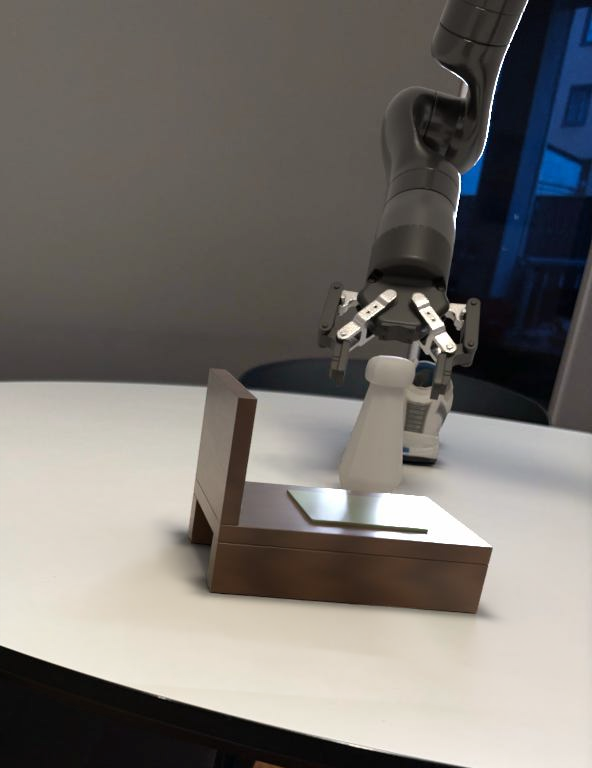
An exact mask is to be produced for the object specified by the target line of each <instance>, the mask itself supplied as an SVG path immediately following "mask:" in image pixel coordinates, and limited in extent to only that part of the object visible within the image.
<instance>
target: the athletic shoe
mask: <svg viewBox="0 0 592 768" xmlns="http://www.w3.org/2000/svg"><path fill="white" fill-rule="evenodd" d="M410 361H412V362H413V364H414V365H415V377H414V380H413V383H412V385H410V386H407V387H405V388H403V459H402V461H406V462H418V463H436V462H437V461H438V458H439V455H440V454H439V453H440V434H439V433H440V431H441V428H442V427H443V425H444V423H445V421H446V419H447V416H449V413H450V412H451V409H452V406H453V401H454V384H453V381H452V379H451V380H450V384H449V387H448V390H447V392H446V393H445V395H440V394H439V397H438V400H432V399H430V393H431V387H432V381H433V375H434V369H435V365H436V362H432V361H430V360H419V359H418V358H417V357H413V358H412V359H410Z"/></svg>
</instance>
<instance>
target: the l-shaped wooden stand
mask: <svg viewBox="0 0 592 768" xmlns="http://www.w3.org/2000/svg"><path fill="white" fill-rule="evenodd" d="M207 378H208V379H207V385H206V386H207V387H206V393H205V395H206V396H205V400H204V401H205V402H204V409H203V415H202V416H203V417H202V424H201V432H200V440H199V446H198V454H197V461H196V462H197V463H196V469H195V478H194V486H193V493H192V500H191V507H190V515H189V523H188V531H187V537H188V539H189V541H190V543H193V544H205V545H211V546H210V547H211V548H210V555H209V562H208V569H207V575H206V584H207V586H208V589H209V591H210V593H218V594H231V595H242V596H243V595H244V596H254V597H255V596H256V597H269V598H282V599H294V600H295V599H296V600H307V601H319V602H332V603H345V604H357V605H369V606H383V607H395V608H407V609H422V610H433V611H434V610H435V611H446V612H458V613H470V614H471V613H472V614H477V613H478V609H479V606H480V605H479V604H480V601H481V597H482V593H483V589H484V585H485V582H486V581H485V580H486V577H487V574H488V569H489V564H490V561H491V558H492V552H493V546H492V545H490V544H489V543H488V542H486V541H485V540H483V539H482V538H481V537H480V536H478V535H477V534H476V533H475V532H473V531H472V530H471V529H469V528H468V527H467V526H465V525H464V524H463V523H462V522H460V521H458V519H457V518H455V517H453V516H452V515H451V514H450V513H448V512H447V511H445V510H444V509H443V508H442V507H440V506H439V505H438V504H437V503H435V502H434V501H432V500H431V499H430V498H429V497H427V496H420V495H419V496H417V495H407V494H398V493H397V494H396V493H392V494H386V493H375V492H363V491H352V490H342V488H341V489H339V488H330V487H329V488H327V487H317V486H305V485H294V484H282V483H272V482H260V481H250V480H249V481H248V480H246V478H247V472H248V465H249V460H250V459H249V458H250V452H251V446H252V439H253V434H254V433H253V432H254V425H255V419H256V414H257V413H256V412H257V406H258V398H257V397H256V396H255V395H254V394H253V393H252V392H251V391H249V389H247V388H246V387H245V386H244V385H243V384H242V383H241V382H240V381H239V380H238V379H236V377H234V376H233V375H232V374H231V373H230V372H229V371H228V370H227V369H225V368H224V369H223V368H216V367H215V368H213V367H210V368H209V373H208V377H207Z"/></svg>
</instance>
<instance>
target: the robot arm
mask: <svg viewBox="0 0 592 768" xmlns="http://www.w3.org/2000/svg"><path fill="white" fill-rule="evenodd" d="M528 2H529V0H446V3H445V6H444V8H443V11H442V14H441V16H440V18H439V21H438V23H437V26H436V29H435V32H434V34H433V38H432V41H431V45H430V55H431V57H432V59H433V60H434V61H435V62H436V63H437V64H438V65H439V66H441V67H442V68H444V69H445V70H447V71H449V72H451V73H452V74H454V75H456V76H457V77H458V78H460V79H461V80H462V81H463V82H465V84H466V86H467V91H466V95H465V97H461V96H457V95H453V94H449V93H447V92H442V91H439V90H434V89H432V88H428V87H424V86H420V85H419V86H418V85H413V86H409V87H406V88H404V89H402V90H400V91H399V92H398V93H397V94H396V95H394V97H393V98H392V99H391V100H390V101H389V104H388V105H387V107H386V108H385V112H384V114H383V117H382V121H381V126H380V139H379V140H380V153H381V158H382V159H381V160H382V164H383V168H384V173H385V180H386V190H385V191H386V192H385V197H384V201H383V207H382V212H381V214H380V215H381V216H380V217H379V220H378V223H377V226H376V229H375V234H374V238H373V243H372V245H371V253H370V258H369V263H368V267H367V272H366V277H365V283H364V286H363V287H362V288H361V289H360V290H359V291H353V290H347V289H344V284H343V283H342V282H340V281H334V282H332V283H331V284H330V286H329V290H328V292H327V296H326V300H325V302H324V306H323V309H322V313H321V315H320V319H319V322H318V325H317V327H318V328H317V336H316V337H317V338H316V346H317V347H318V348H320V349H327V348H328V349H330V350H331V351H332V356H331V361H330V365H329V371H328V372H329V374H328V377H329V379H330V380H332V381H335V382H334V387H340V388H343V385H344V381H345V376H346V372H347V365H348V361H349V355H350V352H351V351H353V350H354V349H356V348H357V347H363V346H364V345H365V344H366V343H368V342H369V341H370V340H372V339H373V338H374V337H376V338H378V341H385V342H389V341H396V342H399V343H402V344H409V345H413V343H414V342H416V343H417V344H418V346H419V347H420V348H421V349H422V351H423V352H424V354H425V355H427V356H430V357H431V359H432V360H433V361H434V363H435V364H436V365H435V369H434V375H433V381H432V387H431V393H430V399H432V400H438V397H439V394H440V395H445V393H446V392H447V390H448V387H449V384H450V380H452V372H453V367H455V366H458V365H459V366H461V367H463V368H469V367H471V365H473V362H474V357H475V353H476V351H477V349H478V346H479V335H480V322H481V321H480V318H481V304H482V303H481V301H480V299H478V298H477V297H471V298H469V299H467V301H466V303H455V302H454V303H453V302H450V300H449V299H448V296H447V291H448V283H449V277H450V271H451V266H452V259H453V256H454V246H455V242H456V241H455V240H456V218H457V212H458V206H459V200H460V194H461V182H462V181H461V175H465V174H466V173H467V172H468V171H470V170H471V169H472V168H473V167H475V165H476V164H477V163H478V161H479V160H480V159H481V157H482V155H483V152H484V151H485V150H484V149H485V146H486V144H487V143H486V142H487V138H488V133H489V127H490V120H491V112H492V106H493V102H494V101H493V100H494V95H495V92H496V86H497V82H498V78H499V74H500V71H501V68H502V65H503V62H504V59H505V56H506V54H507V51H508V49H509V47H510V43H511V42H512V40H513V37H514V35H515V32H516V30H517V29H518V25H519V23H520V21H521V19H522V16H523V13H524V12H525V9H526V6H527V4H528ZM352 307H355V310H356V312H357V313H356V314H355V315H354V316H353V318H352V319H351V320H350V321H349V322H347V323H346V324H345V325H343V326H342V327H341V328H340V329H338V328H336V327H335V326H336V323H337V320H338V317H342V316H343V315H344V314H345V313H347V311H348V310H349V309H351V308H352ZM447 318H448V319H451V320H452V322H453V325H454V327H455V330H457V331H460V338H459V343H455V342H454V340H453V339H452V338H451V336H450V334H448V332H447V329H446V325H445V323H444V322H445V321H446V320H447Z"/></svg>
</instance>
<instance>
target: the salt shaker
mask: <svg viewBox="0 0 592 768" xmlns="http://www.w3.org/2000/svg"><path fill="white" fill-rule="evenodd" d="M364 377H365V380H366V381H368V383H369V386H368V387H367V391H366V393H365V396H364V399H363V401H362V402H363V403H362V404H361V406H360V410H359V413H358V415H357V417H356V421H355V424H354V426H353V428H352V431H351V434H350V437H349V440H348V442H347V445H346V447H345V450H344V453H343V456H342V458H341V461H340V463H339V466H338V477H339V482H340V486H341V490H352V491H363V492H375V493H386V494H394V492H395V491H396V489H397V488H398V487H399V485H400V484H401V482H402V480H403V460H402V459H403V388H405V387H407V386H410V385H412V383H413V380H414V377H415V365H414V364H413V362H412V361H411V359H407V358H405V357H401V356H395V355H377V356H376V355H375V356H373V357H371V358H370V359H368V362H367V364H366V367H365V373H364Z"/></svg>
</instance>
